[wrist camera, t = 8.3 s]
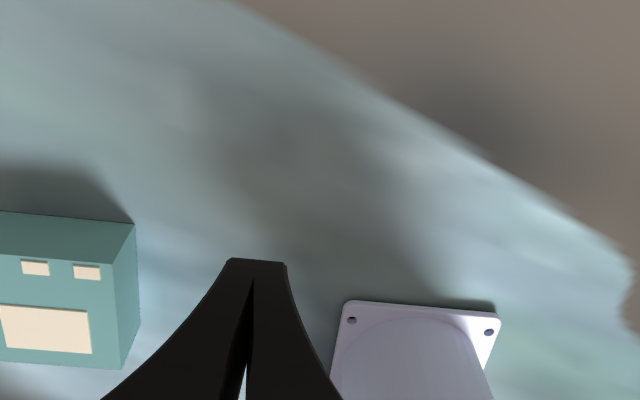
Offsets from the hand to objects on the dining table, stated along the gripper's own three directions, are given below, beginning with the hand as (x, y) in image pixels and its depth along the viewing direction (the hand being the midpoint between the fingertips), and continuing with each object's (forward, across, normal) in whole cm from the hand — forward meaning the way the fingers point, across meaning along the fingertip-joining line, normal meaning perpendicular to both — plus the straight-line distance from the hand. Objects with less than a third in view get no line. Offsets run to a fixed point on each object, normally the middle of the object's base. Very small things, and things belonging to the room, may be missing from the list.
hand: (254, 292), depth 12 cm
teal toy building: (+10, +9, +8) cm, 16 cm away
